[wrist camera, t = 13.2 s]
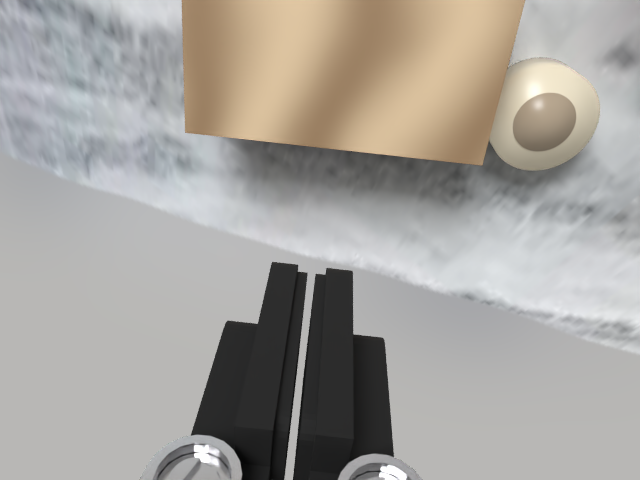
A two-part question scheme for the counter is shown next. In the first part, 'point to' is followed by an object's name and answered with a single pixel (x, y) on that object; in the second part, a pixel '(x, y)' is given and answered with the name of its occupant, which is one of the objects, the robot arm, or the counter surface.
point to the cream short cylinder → (543, 114)
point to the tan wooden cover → (350, 73)
